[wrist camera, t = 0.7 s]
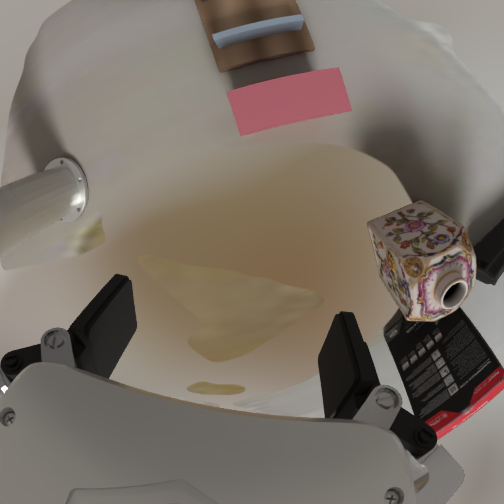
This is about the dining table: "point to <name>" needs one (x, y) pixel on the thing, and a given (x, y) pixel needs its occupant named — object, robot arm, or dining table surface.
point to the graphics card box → (445, 369)
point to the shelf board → (246, 12)
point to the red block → (289, 100)
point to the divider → (258, 30)
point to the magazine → (490, 256)
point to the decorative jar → (423, 260)
